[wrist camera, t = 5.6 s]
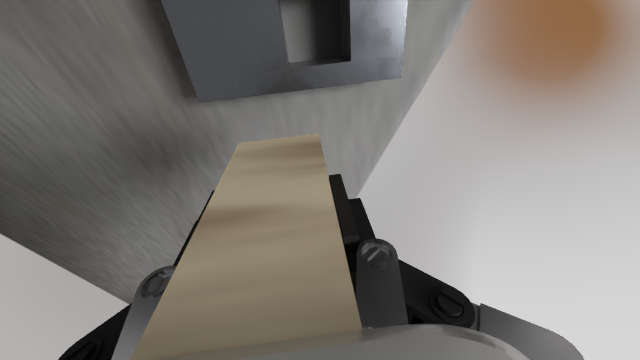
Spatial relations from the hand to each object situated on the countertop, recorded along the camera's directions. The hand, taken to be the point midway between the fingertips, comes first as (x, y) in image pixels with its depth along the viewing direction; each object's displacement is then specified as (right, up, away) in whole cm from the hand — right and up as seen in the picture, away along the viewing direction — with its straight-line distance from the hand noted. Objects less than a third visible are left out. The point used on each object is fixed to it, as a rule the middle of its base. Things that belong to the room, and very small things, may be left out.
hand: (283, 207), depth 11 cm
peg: (0, +2, +3) cm, 3 cm away
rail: (-1, +17, +13) cm, 21 cm away
